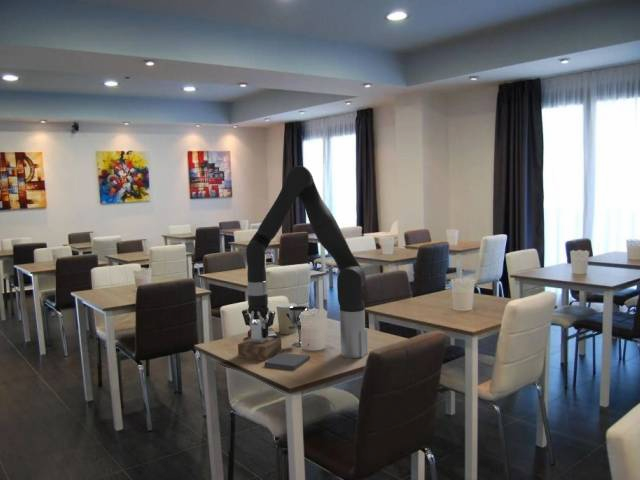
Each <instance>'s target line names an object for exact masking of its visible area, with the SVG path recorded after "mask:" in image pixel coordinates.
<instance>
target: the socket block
mask: <svg viewBox="0 0 640 480" xmlns="http://www.w3.org/2000/svg"><path fill="white" fill-rule="evenodd" d="M237 351H238V352H237V353H238V354H237V355H238V358H242V359H243V358H244V359H251V360H259V361H268V360H269V359H271V358H273V357H274V356H276V355H278V354H279V353H282V351H283V350H282V338H280V337H278V338H270V337H268V341H267V342H265V343H263V344H257V343H252V338H250V339H246V340H243V341H242V342H240V343H238V344H237Z"/></svg>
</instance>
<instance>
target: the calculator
mask: <svg viewBox="0 0 640 480" xmlns="http://www.w3.org/2000/svg"><path fill="white" fill-rule="evenodd" d="M268 337H270V338H279V337H278V335H277V333H276V331H275V330H274V329H273V328H272V327H268ZM247 338H248V339H250V338H252V335H251V330H250V329H249V330H247ZM248 339H247V340H248Z"/></svg>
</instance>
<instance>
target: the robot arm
mask: <svg viewBox="0 0 640 480" xmlns="http://www.w3.org/2000/svg"><path fill="white" fill-rule="evenodd" d="M297 198H298V199H299V201H300V202H301V204H302V205H303V207H304V210H305V212H306V215H307V219H308V221H309V222H308V223H310V227H311V229H312V231H313V233H314V235H315V237H316V239H317V240H318V242H319V243H320V245H321V246H322V247H323V248H324V249H325V251H326V252H327V253H328V254H329V255H330V256H331V257H332V258H333V260H334V261H335V263H336V266H337V268H338V270H339V273H338V275H337V278H336V279H337V280H336V288H337V289H336V290H337V292H336V293H337V300H338V301H337V302H338V305H339V322H340V326H339V327H340V328H339V329H340V354H341V356H343V357H344V358H350V359H356V358H364V357H365V356H366V355H367V354H368V352H369V351H368V328H366V318H365V317H366V313H365V312H366V311H365V310H366V309H365V306H366V305H365V301H364V300H363V292H362V291H363V289H362V287H363V286H364V285H365V283H366V280H367V279H366V273H365V271H364V269H363V267H362V266H361V265H360V264H359V262H358V260H357V259H356V257H355V256H354V254H353V253H352V250H351V249H350V247H349V245H348V243H347V240H346V238H345V236H344V235H343V231H342V230H341V229H340V226H339V224H338V222H337V220H336V218H335V216H334V215H333V213H332V212H331V210H330V209H329V207H328V206H327V204H326V203H325V202H324V200H323V199H322V197H321V195H320V193H319V191H318V189H317V186H316V183H315V180H314V178H313V175H312V173H311V171H310V170H309V169H308V168H307V167H306V166H303V165H295V166H293V167H292V168H291V169H290V170H289V171H288V173H287V175H286V178H285V181H284V183H283V185H282V187H281V189H280V191H279V194H278V195H277V197H276V199H275V201H274V203H273V204H272V206H271V207H270V209H269V210H268V212H267V214H266V215H265V216H264V218H263V220H262V221H261V223H260V225H259V226H258V229H257V231H256V232H255V233H254V235H253V236H252V238H251V239H250V241H249V242H248V244H247V245H246V248H245V252H246V253H245V254H246V256H245V257H246V264H247V270H246V271H247V275H246V276H247V286H246V287H247V305H248V308H246V309H243V310H242V311H241V314H242V318H243V320H244V325H245V326H248V327H249V328H250V329H249V330H251V324H253V323H256V322H258V320H259V322H261V323H262V326H263V338H266V337H267V336H268V328H271V327H272V326H273V325H274V322H275V321H274V320H275V317H276V316H275V315H276V311H271V310H270V309H269V307H268V305H269V297H268V295H269V294H268V284H267V270H266V251H267V249H268V247H269V245H270V243H271V242H272V240H274V238H275V237H276V236H277V234H278V232H279V231H280V230H281V228H282V226H283V224H284V222H285V221H286V219H287V216H288V214H289V212H290V210H291V207H292V205H293V204H294V202H295V201H296V199H297Z"/></svg>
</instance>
